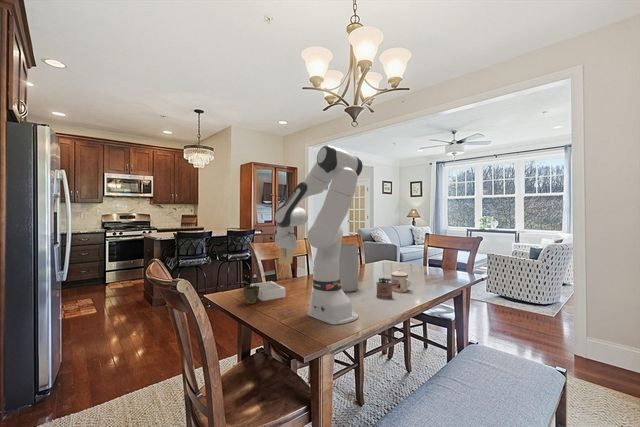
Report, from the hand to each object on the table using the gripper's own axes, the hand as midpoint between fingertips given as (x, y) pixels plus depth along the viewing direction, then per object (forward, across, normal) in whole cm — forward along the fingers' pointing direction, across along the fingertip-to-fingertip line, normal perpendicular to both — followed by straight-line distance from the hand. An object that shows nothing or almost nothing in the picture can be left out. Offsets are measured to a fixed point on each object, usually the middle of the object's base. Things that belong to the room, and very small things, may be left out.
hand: (285, 256), depth 157 cm
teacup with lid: (+19, -33, -54) cm, 66 cm away
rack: (+19, 0, +11) cm, 22 cm away
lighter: (+19, -37, -37) cm, 56 cm away
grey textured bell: (+19, -10, +23) cm, 31 cm away
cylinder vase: (+19, -14, -31) cm, 39 cm away
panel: (+4, 0, 0) cm, 4 cm away
